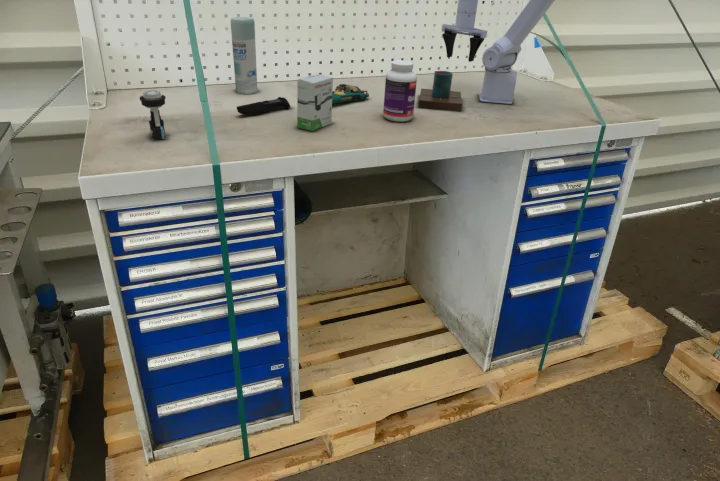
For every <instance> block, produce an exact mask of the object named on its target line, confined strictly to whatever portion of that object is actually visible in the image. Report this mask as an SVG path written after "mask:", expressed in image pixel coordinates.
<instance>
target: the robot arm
mask: <svg viewBox="0 0 720 481" xmlns="http://www.w3.org/2000/svg"><path fill="white" fill-rule="evenodd" d="M555 1H556V0H529V1H528V2H527V4H525V6H524V8H523V9H522V11H521V12H520V13H519V14H518V15H517V17H516V19H515V20H514V21H513V23H512V24H511V25H510V26H509V29H508V30H507V31H506V32H505V34H504V35H503V36H502V37H501V38H499V39H498V40H496V41H495V42H494V43H493V45H492V46H490V47H488V48H486V49H485V50H484V52H483V54H482V58H481V59H482V60H481V62H482V65H483V67H484V76H483V82H482V87H481V92H479V93H478V99H479V102H482V103H492V104H493V103H495V104H506V105H513V100H514V95H515V90H516V84H517V77H518V73H517V71H514V70H512V66H514V65H515V64H516V62H517V60H518V57H519V54H520V53H521V51H522V46H521V45H522V44H523V43H524V41H525V40H526V38H527V37H528V36H529V34H530V33H531V32H532V31H533V29H535V27H536V25H537V24H538V23H539V22H540V20H541V19H542V18H543V16H544V15H545V14H546V13H547V11H548V10H549V9H550V7H551V6H552V5H553V3H554V2H555ZM478 3H479V0H457V9H456V17H455V23H454V24H455V25H454V24H447V23H445V24H441V32H442V35H441V37H442V39H443V42H444V45H445V50H446V58H452V57H453V53H454V47H455V42H456V38H457V36H458V35H464V36H470V37H469V53H468V60H467V61H468V62H470V63H471V62H474V60H475V57H476V55H477V52H478V51H479V48H480V47H481V45H482V44H483V42H484V40H485V39H486V38H487V35H488V30H485V29H481V28H476V27H475V24H476V17H477V10H478V5H479V4H478Z"/></svg>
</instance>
